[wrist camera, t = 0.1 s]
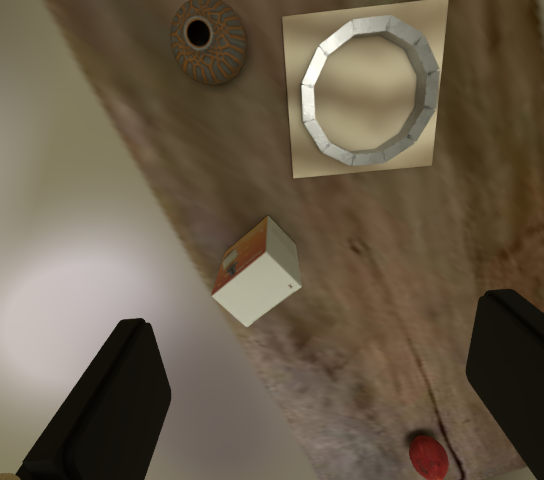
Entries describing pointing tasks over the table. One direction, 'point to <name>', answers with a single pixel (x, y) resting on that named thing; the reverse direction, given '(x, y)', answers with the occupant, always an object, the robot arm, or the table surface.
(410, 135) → the ring collar
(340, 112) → the birch board
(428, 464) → the onion
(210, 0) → the vase
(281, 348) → the table surface
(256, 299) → the small box
